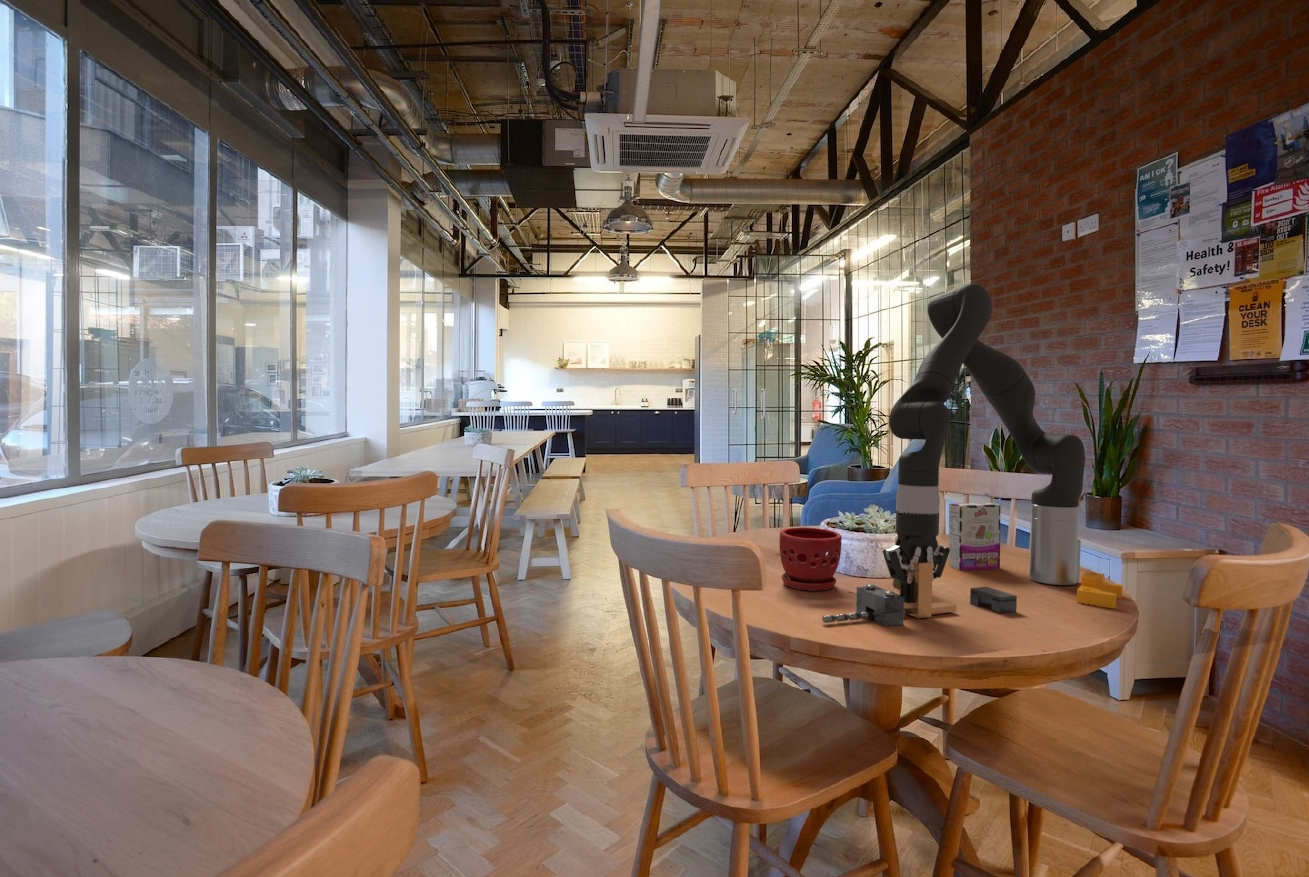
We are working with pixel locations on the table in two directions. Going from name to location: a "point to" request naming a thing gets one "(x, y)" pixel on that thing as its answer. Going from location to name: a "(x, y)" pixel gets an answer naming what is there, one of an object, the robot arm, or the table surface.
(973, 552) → the candy bar box
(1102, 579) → the yellow stand
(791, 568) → the plant pot
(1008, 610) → the hook
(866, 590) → the block
